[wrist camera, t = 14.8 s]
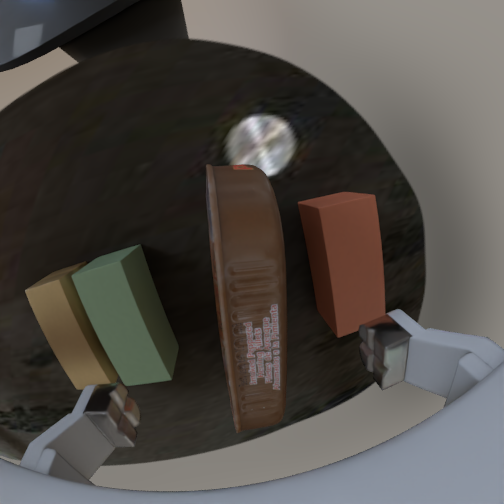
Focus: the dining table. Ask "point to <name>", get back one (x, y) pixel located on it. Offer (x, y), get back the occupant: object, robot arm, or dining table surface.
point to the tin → (249, 291)
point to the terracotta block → (345, 258)
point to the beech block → (70, 329)
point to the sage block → (128, 316)
